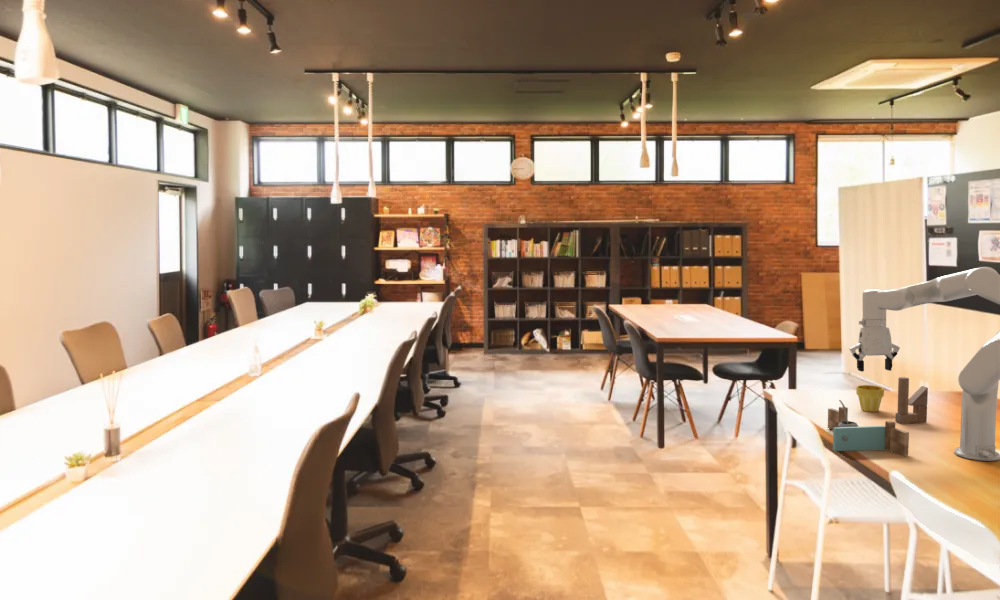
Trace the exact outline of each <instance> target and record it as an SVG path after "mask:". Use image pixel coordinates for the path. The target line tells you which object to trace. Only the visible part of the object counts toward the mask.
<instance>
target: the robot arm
mask: <svg viewBox="0 0 1000 600" xmlns="http://www.w3.org/2000/svg"><path fill="white" fill-rule="evenodd" d="M976 295H977V296H979V297H981V298H983V299H985V300H988V301H990V302H992V303H995V304H997V305H1000V274H999V273H998V271H997V270H995V269H994V268H993V267H990V266H979V267H975V268H972V269H968V270H963V271H959V272H955V273H951V274H947V275H943V276H940V277H939V276H938V277H936V278H934V279H931V280H927V281H924V282H920V283H916V284H913V285H907V286H904V287H903V286H902V287H898V288H895V289H889V290H885V289H880V288H876V289H875V288H874V289H873V288H871V289H870V288H869V289H865V290H863V292H862V319H861V320H859V321H858V324H859V325H861V327H860V330H859V334H858V343H856V344H855V345H852V346H851V347H850V348H849V349H848V350H849V352H850V353H851V356H853V358H855V360H856V369H857V371H858V372H863V373H864V371H865V361H864V358H865V357H866V356H867V357H868V356H871V357H873V356H885V359H884V370H886V371H888V372H889V371H890V372H891V371H892V369H893V360H894V359H895V357H896V356H897V355H898V352H899V350H900V349H901V348H900V346H898V345H896V344H893V343H892V337H891V335H892V334H891V330H890V327H889V326H887V311H893V312H894V311H896V312H899V311H903V310H905V309H908V308H913V307H918V306H922V305H926V304H931V303H937V302H938V303H941V302H943V303H945V302H949V301H953V300H954V301H955V300H959V299H964V298H968V297H972V296H976ZM857 350H858V353H857V352H856V351H857ZM999 382H1000V329H999V330H998V331H997V332H996V334H995V335H994V336H993V337H991V338H990V339H988V340H987V341H985V343H984V344H983V345H982V346H981V348H980V349H978V351H977V352H976V353H975V354H974V355H973V357H972V358H971V359H970V360H969V362H967V364H966V365H965V366H964V367H963V369H961V371H960V372H959V374H958V385H959V387H960V389H962V394H961V395H962V396H961V410H960V411H961V412H960V416H961V417H960V439H959V441H960V443H959V446H958V447H955V448H954V454H955V455H957V456H959V457H961V458H965V459H970V460H973V461H974V460H975V461H981V462H982V461H983V462H994V461H998V460H999V461H1000V453H999V452H997V451H996V427H997V425H996V424H997V409H998V408H997V407H998V405H997V404H998V393H999V392H998V391H999V385H1000V383H999Z"/></svg>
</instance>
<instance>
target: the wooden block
mask: <svg viewBox="0 0 1000 600" xmlns="http://www.w3.org/2000/svg"><path fill="white" fill-rule="evenodd" d="M897 379H898V381H897V382H898V383H897V385H898V386H897V412H895V415H894V416H895V418H894V422H895V423H898V424H927V423H928V422H927V418H928V416H927V415H928V393H929V387H926V386H924V385H921V386H920V387H919V388H918V389H917V390H916V391H915V392H914V393H913V394H912V395H911V396H910V397H909V390H910V389H909V388H910V387H909V386H910V378H909V377H906V376H900V377H899V376H898V378H897ZM909 406H912V412H909Z"/></svg>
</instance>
